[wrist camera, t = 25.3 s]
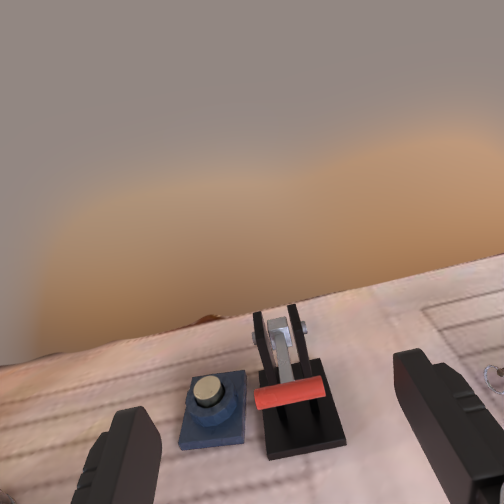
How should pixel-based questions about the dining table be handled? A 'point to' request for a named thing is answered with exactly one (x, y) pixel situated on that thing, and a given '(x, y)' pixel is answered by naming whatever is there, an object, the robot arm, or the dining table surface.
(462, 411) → the robot arm
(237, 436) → the box
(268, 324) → the lever
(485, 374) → the coffee pot
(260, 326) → the bracket
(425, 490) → the dining table surface
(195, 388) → the button
